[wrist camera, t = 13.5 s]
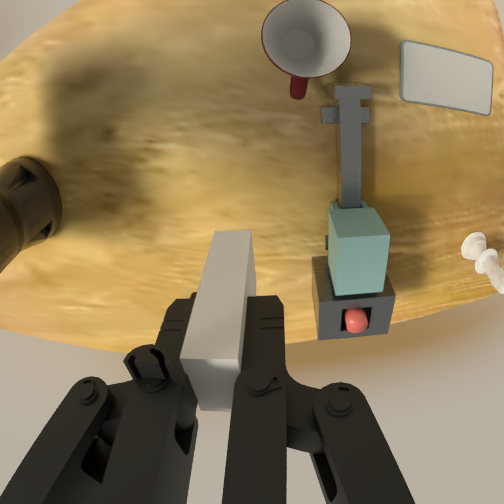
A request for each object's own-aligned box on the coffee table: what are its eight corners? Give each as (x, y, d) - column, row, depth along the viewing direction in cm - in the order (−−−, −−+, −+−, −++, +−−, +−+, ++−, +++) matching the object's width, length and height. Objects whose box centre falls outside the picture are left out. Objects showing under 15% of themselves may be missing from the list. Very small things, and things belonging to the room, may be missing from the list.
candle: (469, 264, 46) (501, 310, 36) (455, 247, 45) (489, 294, 35) (490, 243, 44) (525, 286, 34) (477, 225, 42) (515, 268, 32)
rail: (325, 256, 47) (329, 276, 43) (318, 83, 34) (325, 85, 30) (364, 253, 47) (372, 273, 42) (367, 83, 34) (379, 86, 29)
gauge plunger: (342, 315, 43) (346, 334, 40) (343, 300, 42) (347, 318, 39) (361, 314, 43) (366, 332, 40) (363, 298, 41) (369, 316, 38)
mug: (334, 95, 35) (353, 105, 27) (267, 96, 36) (265, 105, 27) (330, 14, 29) (349, -1, 21) (261, 14, 30) (258, -3, 22)
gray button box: (312, 293, 51) (317, 340, 43) (311, 257, 48) (318, 302, 39) (372, 289, 50) (387, 333, 42) (376, 252, 46) (395, 295, 38)
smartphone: (490, 117, 33) (400, 101, 34) (486, 115, 34) (398, 100, 35) (493, 61, 28) (401, 38, 29) (489, 61, 29) (398, 39, 30)
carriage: (325, 253, 46) (335, 295, 38) (325, 201, 42) (337, 237, 34) (366, 250, 45) (382, 291, 37) (369, 199, 41) (390, 234, 33)
